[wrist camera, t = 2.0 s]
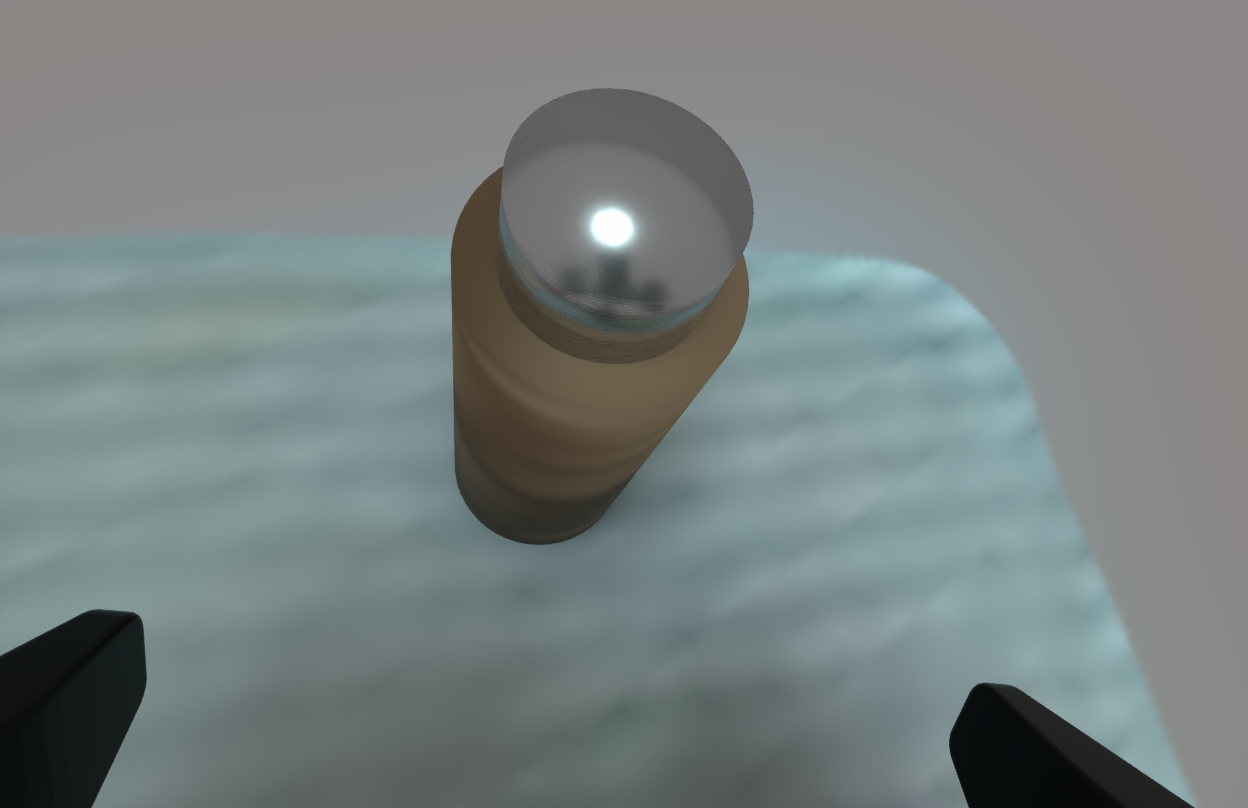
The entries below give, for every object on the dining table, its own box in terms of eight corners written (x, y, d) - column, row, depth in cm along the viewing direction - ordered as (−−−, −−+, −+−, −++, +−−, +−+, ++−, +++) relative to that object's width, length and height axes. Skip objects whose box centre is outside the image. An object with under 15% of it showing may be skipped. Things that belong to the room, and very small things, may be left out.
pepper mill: (650, 450, 23) (854, 185, 11) (555, 579, 21) (682, 423, 9) (524, 357, 23) (592, 2, 11) (418, 475, 21) (366, 191, 9)
